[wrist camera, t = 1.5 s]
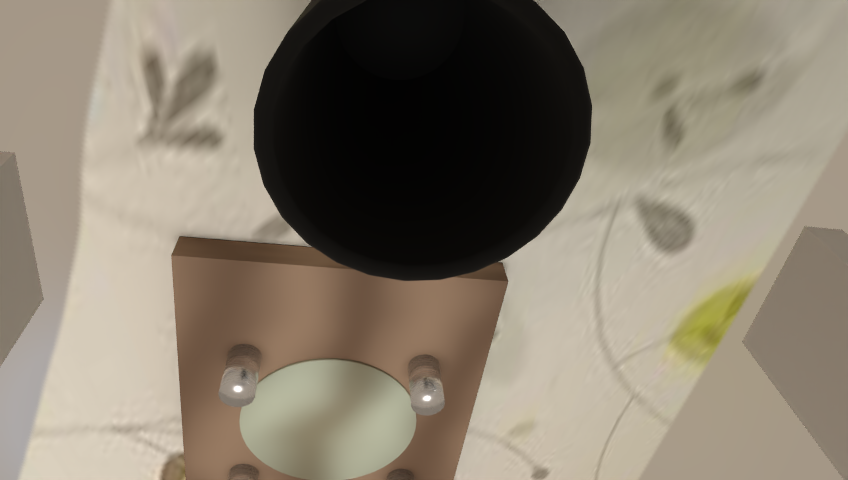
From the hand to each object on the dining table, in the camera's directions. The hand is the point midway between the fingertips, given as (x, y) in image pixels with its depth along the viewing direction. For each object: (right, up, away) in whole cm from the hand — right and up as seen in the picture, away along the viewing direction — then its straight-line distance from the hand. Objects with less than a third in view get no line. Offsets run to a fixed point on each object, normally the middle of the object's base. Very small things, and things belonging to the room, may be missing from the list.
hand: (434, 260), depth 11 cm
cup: (-1, +9, +14) cm, 17 cm away
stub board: (-5, -8, +25) cm, 26 cm away
